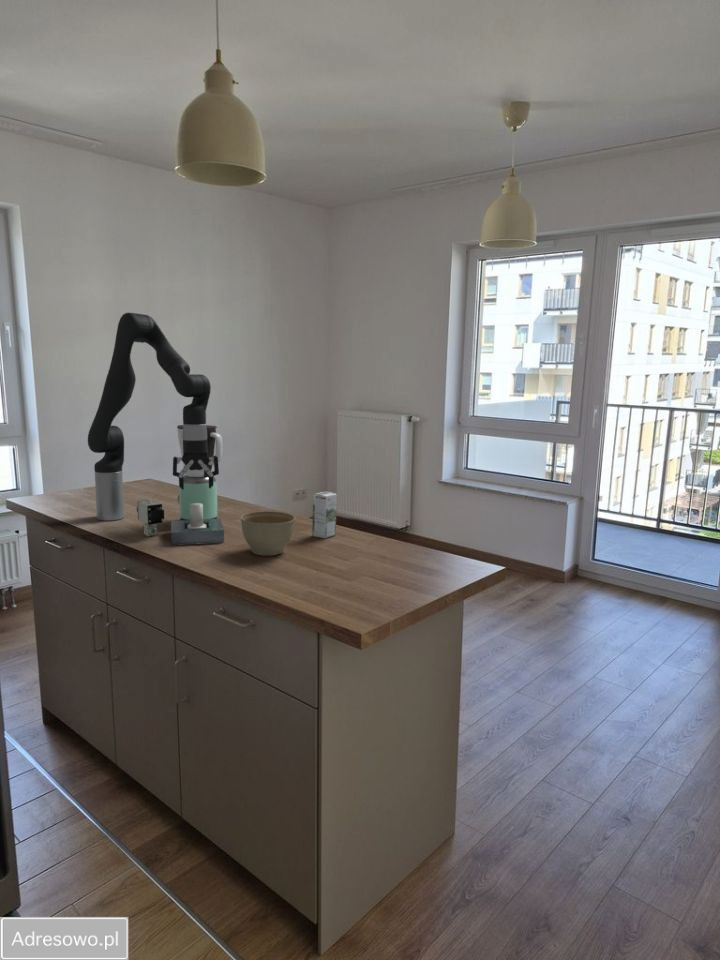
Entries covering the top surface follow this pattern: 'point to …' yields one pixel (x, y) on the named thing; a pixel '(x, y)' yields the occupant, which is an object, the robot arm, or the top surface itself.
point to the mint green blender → (200, 479)
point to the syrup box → (324, 514)
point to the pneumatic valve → (150, 515)
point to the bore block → (197, 532)
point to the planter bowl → (267, 531)
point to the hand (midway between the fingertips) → (196, 488)
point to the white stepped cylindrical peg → (196, 516)
